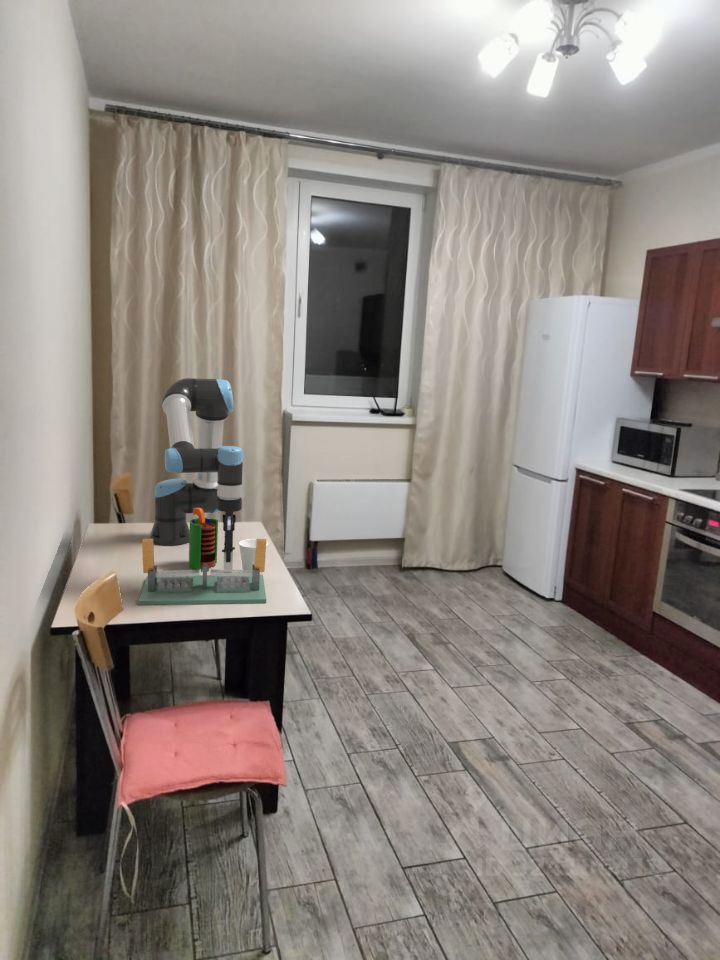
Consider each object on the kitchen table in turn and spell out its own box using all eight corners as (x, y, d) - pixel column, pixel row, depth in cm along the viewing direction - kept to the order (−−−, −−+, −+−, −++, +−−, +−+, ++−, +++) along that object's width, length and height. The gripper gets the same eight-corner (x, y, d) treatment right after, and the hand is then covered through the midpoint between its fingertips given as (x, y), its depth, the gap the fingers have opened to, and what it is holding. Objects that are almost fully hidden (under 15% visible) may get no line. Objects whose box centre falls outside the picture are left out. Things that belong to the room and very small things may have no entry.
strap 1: (143, 579, 211) (141, 541, 209) (144, 576, 214) (143, 538, 211) (199, 577, 214) (198, 540, 212) (199, 574, 217) (198, 537, 214)
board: (147, 579, 224) (147, 575, 224) (262, 578, 231) (262, 574, 231) (138, 605, 203) (138, 601, 202) (266, 602, 210) (266, 599, 209)
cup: (241, 568, 239) (241, 538, 237) (269, 570, 239) (270, 539, 237) (235, 578, 229) (235, 546, 227) (264, 580, 229) (265, 548, 227)
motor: (208, 571, 235) (208, 513, 231) (183, 568, 236) (183, 511, 233) (220, 562, 245) (220, 507, 241) (196, 559, 246) (196, 504, 242)
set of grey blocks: (150, 582, 218) (150, 560, 217) (258, 581, 224) (258, 559, 223) (147, 593, 209) (147, 570, 207) (259, 592, 215) (260, 569, 213)
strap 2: (263, 575, 221) (265, 538, 218) (263, 578, 218) (266, 541, 216) (210, 573, 218) (212, 537, 215) (210, 577, 215) (212, 539, 212)
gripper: (217, 492, 218) (216, 564, 222) (216, 501, 205) (215, 578, 210) (241, 492, 219) (239, 564, 223) (242, 502, 206) (240, 577, 211)
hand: (228, 570), depth 216 cm, fingers closed
